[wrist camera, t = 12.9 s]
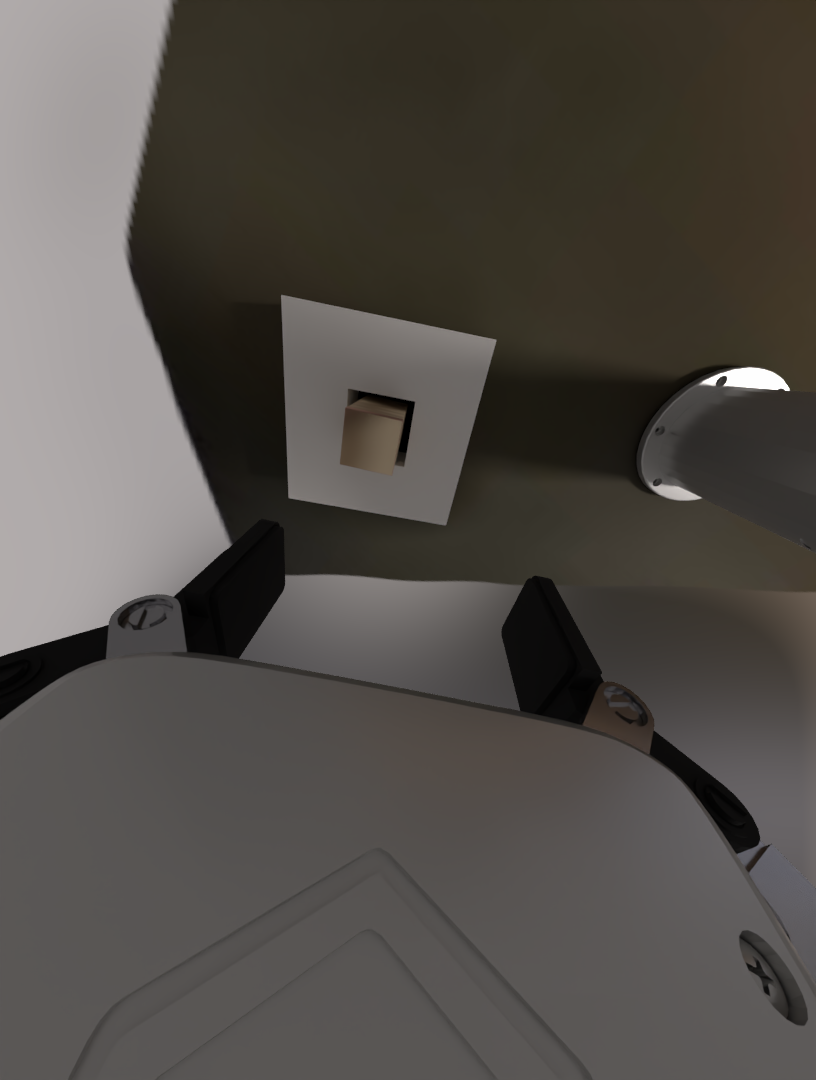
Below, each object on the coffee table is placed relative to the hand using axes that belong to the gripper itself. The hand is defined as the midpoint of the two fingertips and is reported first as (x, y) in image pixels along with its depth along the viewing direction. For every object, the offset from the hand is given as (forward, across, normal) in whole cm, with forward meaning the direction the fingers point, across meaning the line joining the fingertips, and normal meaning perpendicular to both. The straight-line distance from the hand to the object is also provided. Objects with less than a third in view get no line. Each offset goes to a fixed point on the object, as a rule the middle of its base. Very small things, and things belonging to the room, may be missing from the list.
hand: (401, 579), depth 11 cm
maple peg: (+23, +4, -1) cm, 23 cm away
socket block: (+23, +4, -1) cm, 23 cm away
